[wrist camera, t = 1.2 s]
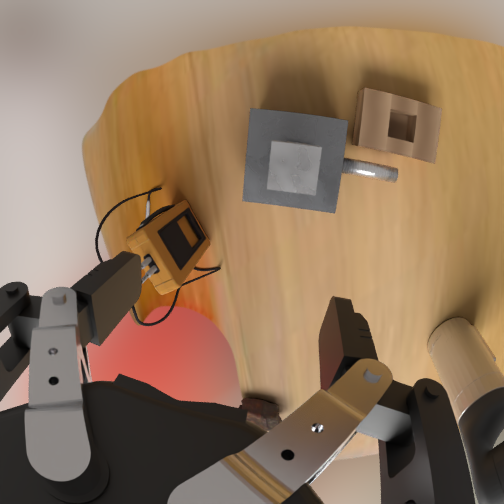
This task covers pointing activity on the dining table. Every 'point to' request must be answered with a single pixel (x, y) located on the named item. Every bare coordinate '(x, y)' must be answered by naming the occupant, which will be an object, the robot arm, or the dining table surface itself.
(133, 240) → the multimeter
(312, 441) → the robot arm
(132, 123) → the dining table surface
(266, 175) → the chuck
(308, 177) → the grey square peg
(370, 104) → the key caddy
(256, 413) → the rough brown rock chunk
